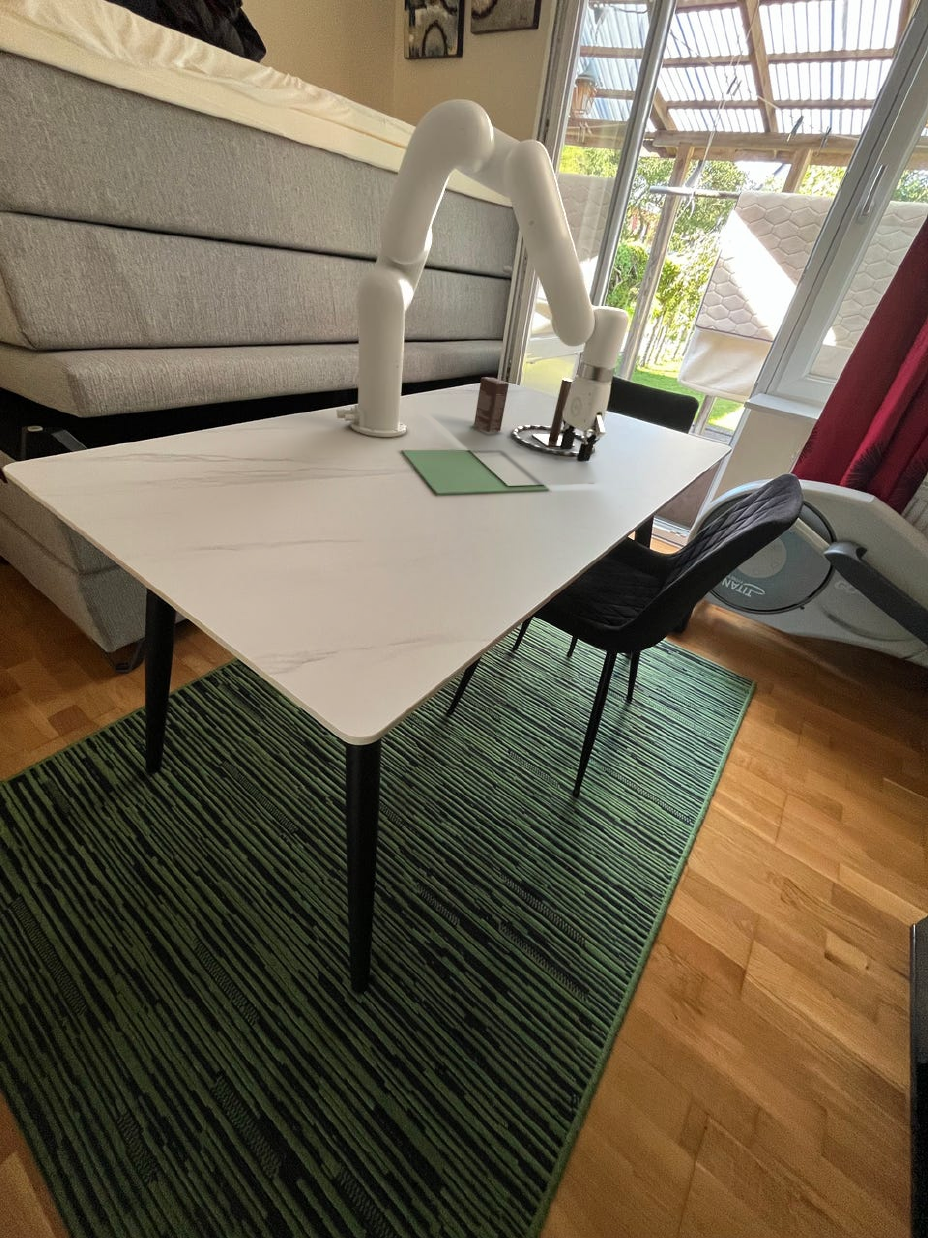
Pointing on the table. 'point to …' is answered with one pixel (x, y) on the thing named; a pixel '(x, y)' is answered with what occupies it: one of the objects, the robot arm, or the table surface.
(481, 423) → the box
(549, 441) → the post
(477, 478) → the mat
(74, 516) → the table surface
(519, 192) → the robot arm
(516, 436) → the ring
